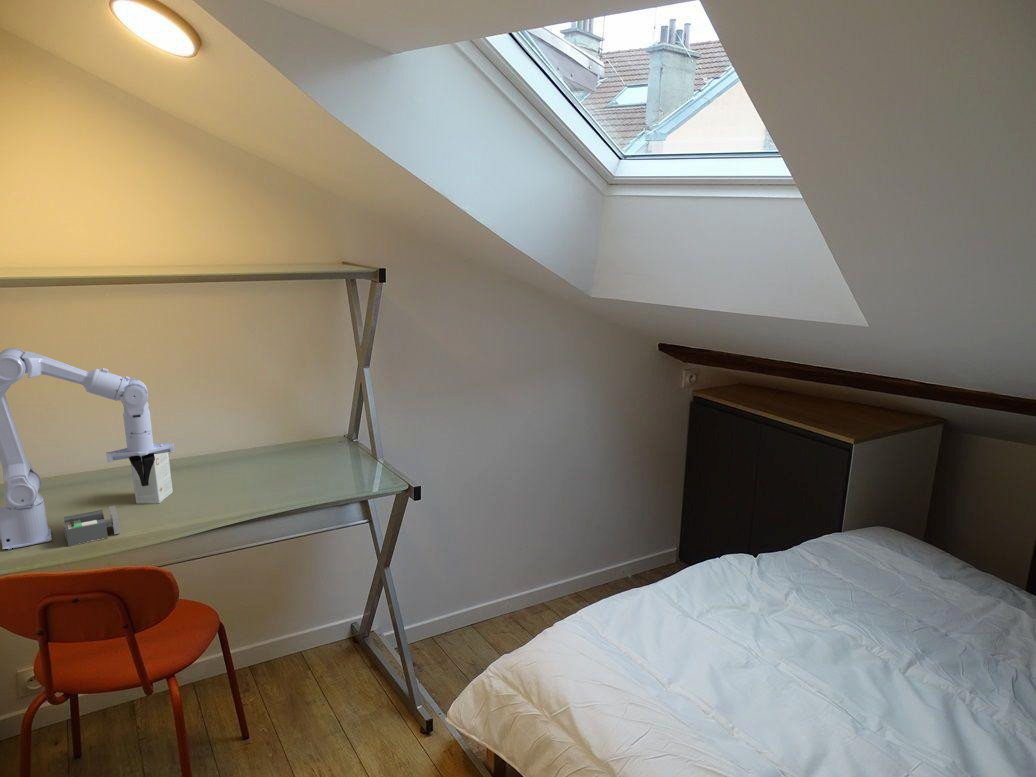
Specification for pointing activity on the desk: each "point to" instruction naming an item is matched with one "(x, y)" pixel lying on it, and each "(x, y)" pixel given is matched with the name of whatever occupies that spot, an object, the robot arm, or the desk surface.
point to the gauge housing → (86, 527)
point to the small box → (154, 481)
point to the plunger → (111, 522)
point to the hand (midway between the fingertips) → (144, 484)
